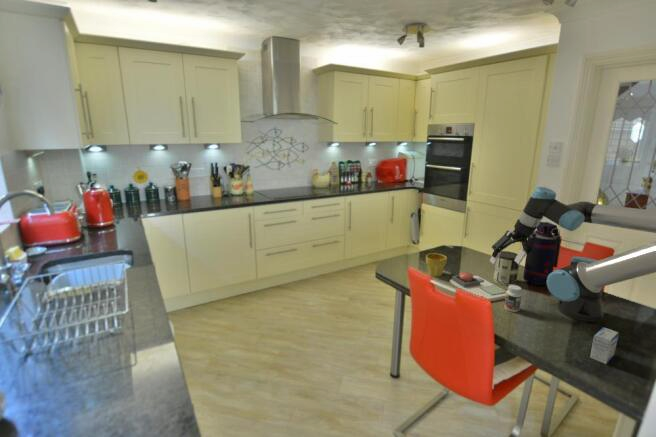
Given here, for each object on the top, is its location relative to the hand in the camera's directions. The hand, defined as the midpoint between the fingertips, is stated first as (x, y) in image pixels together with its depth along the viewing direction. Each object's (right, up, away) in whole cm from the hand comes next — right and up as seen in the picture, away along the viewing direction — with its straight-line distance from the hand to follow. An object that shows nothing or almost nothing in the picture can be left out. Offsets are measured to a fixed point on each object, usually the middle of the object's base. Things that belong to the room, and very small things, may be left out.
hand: (504, 262), depth 151 cm
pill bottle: (-1, -19, -8) cm, 20 cm away
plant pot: (-22, -10, +27) cm, 36 cm away
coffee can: (+10, -12, +19) cm, 24 cm away
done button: (-12, -10, +13) cm, 20 cm away
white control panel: (-7, -14, +9) cm, 18 cm away
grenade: (+26, -12, +17) cm, 33 cm away
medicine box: (+12, -26, -39) cm, 48 cm away
